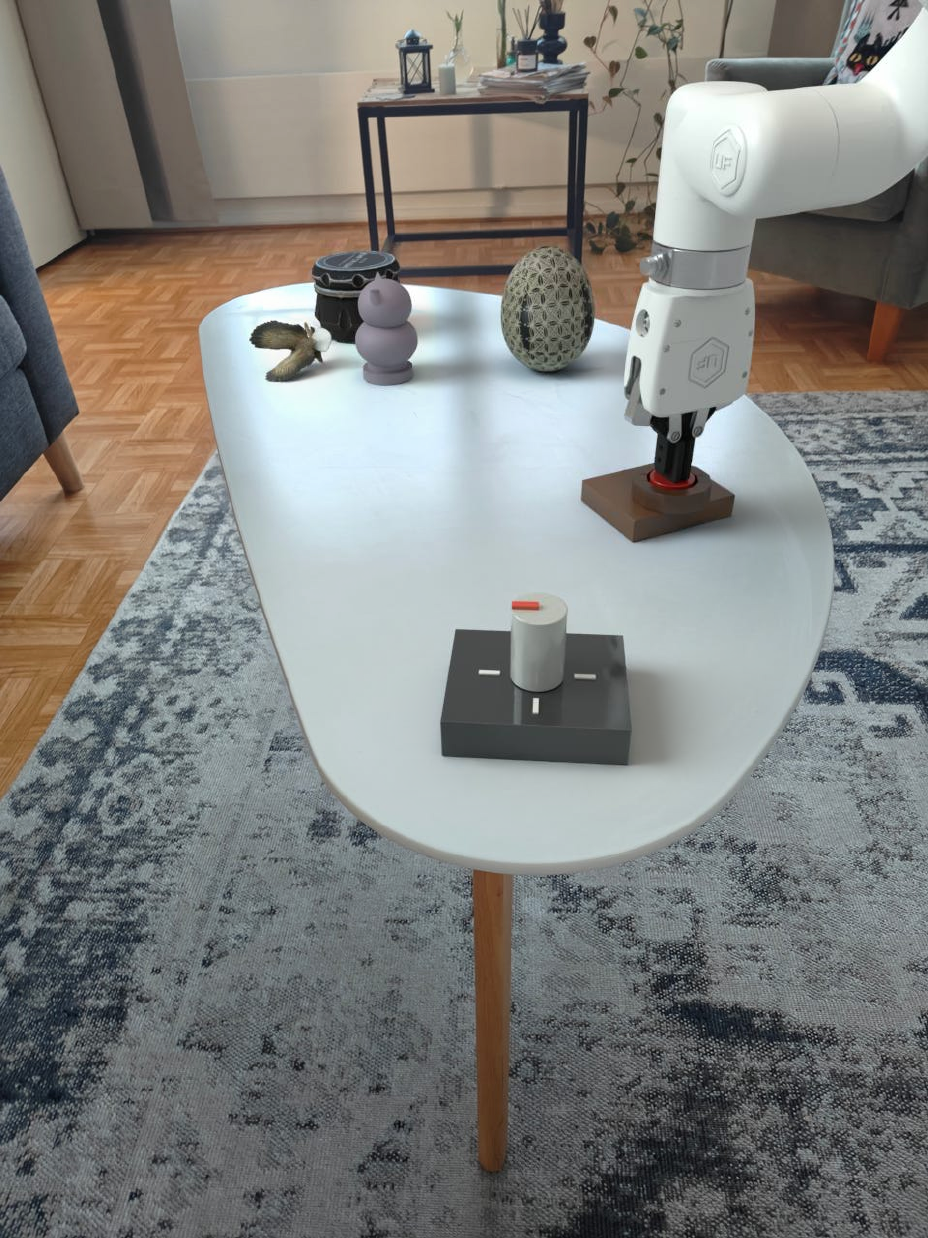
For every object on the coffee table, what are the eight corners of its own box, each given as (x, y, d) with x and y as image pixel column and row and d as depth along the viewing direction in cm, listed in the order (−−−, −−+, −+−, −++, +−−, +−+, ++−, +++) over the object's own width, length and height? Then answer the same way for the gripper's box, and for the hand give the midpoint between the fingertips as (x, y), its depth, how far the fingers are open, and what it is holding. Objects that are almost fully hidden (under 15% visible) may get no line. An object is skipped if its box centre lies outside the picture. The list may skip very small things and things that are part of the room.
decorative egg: (566, 391, 110) (572, 263, 101) (483, 375, 115) (482, 251, 106) (606, 362, 118) (614, 241, 109) (527, 348, 123) (529, 231, 114)
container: (314, 321, 135) (306, 251, 129) (400, 314, 136) (395, 245, 131) (319, 349, 124) (310, 274, 119) (411, 341, 126) (407, 267, 120)
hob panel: (619, 668, 66) (623, 633, 64) (627, 765, 58) (632, 728, 56) (456, 661, 67) (455, 626, 65) (441, 756, 59) (439, 719, 57)
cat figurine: (417, 388, 112) (412, 289, 105) (354, 389, 112) (345, 289, 105) (421, 364, 119) (417, 269, 112) (362, 364, 119) (354, 270, 112)
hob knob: (563, 659, 62) (567, 588, 58) (564, 693, 59) (568, 621, 55) (510, 658, 62) (511, 587, 59) (509, 691, 59) (510, 619, 56)
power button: (675, 480, 85) (677, 463, 84) (701, 497, 82) (704, 480, 81) (639, 489, 83) (641, 471, 82) (664, 507, 80) (667, 489, 79)
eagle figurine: (294, 344, 122) (240, 349, 116) (314, 303, 118) (259, 307, 111) (325, 386, 121) (272, 393, 114) (347, 346, 116) (292, 351, 110)
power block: (674, 476, 91) (679, 439, 88) (738, 520, 83) (745, 480, 81) (580, 500, 87) (582, 462, 85) (638, 547, 79) (642, 507, 77)
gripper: (646, 289, 66) (624, 511, 76) (806, 263, 71) (764, 475, 81) (592, 265, 71) (578, 475, 82) (744, 243, 76) (712, 444, 87)
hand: (671, 475), depth 82 cm, fingers closed
